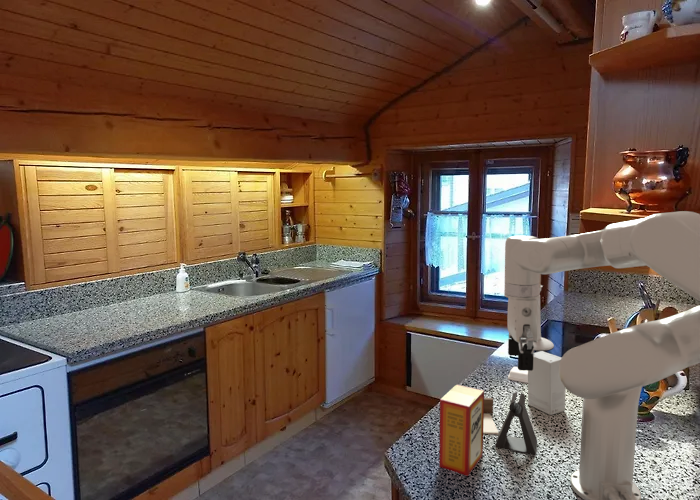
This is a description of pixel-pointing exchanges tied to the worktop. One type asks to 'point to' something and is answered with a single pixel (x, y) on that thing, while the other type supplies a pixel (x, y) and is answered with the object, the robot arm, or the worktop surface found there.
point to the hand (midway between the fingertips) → (520, 362)
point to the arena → (488, 405)
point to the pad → (489, 425)
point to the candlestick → (542, 342)
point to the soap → (518, 375)
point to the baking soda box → (461, 429)
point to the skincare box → (546, 384)
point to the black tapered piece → (529, 440)
